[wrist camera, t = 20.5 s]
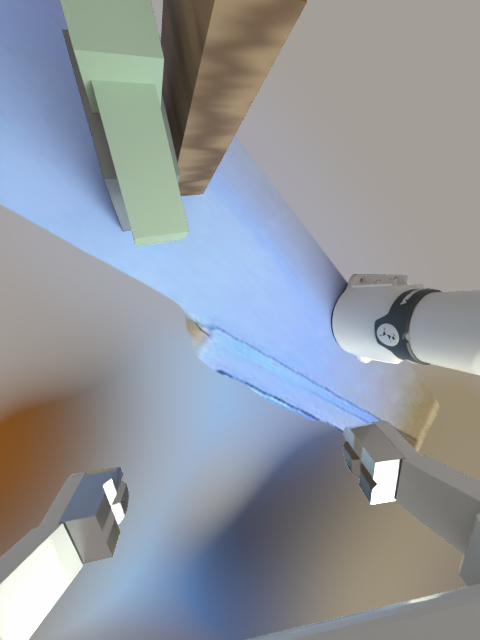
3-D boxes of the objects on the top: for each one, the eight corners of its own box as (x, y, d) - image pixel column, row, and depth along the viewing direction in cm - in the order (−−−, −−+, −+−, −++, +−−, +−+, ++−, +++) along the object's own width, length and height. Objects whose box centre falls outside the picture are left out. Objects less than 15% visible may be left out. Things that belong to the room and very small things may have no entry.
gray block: (148, 152, 34) (149, 40, 19) (166, 225, 36) (180, 175, 21) (101, 153, 32) (62, 29, 17) (122, 231, 34) (104, 179, 19)
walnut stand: (190, 137, 36) (281, -197, 12) (202, 194, 37) (306, 2, 13) (155, 137, 34) (176, -251, 10) (170, 196, 36) (218, -18, 11)
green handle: (140, 28, 19) (137, -60, 14) (188, 239, 22) (200, 223, 17) (66, 18, 17) (36, -85, 13) (129, 247, 20) (124, 232, 15)
